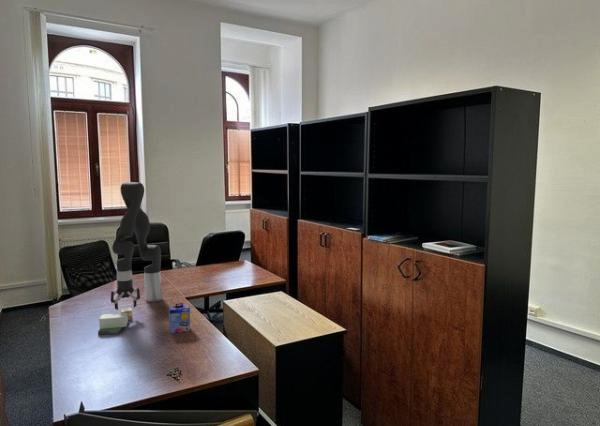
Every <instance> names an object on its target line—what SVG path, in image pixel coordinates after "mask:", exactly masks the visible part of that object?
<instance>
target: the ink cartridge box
mask: <svg viewBox="0 0 600 426" xmlns="http://www.w3.org/2000/svg"><path fill="white" fill-rule="evenodd" d="M190 314H191V308H190V306H189V304H184V303H183V302H180V303H175V305H172V306H168V324H169V325H168V328H169V333H171V334H176V333H175V332H178V333H184V332H183V331H185V332H190V331H191V318H190V317H191V316H190ZM189 330H190V331H189Z"/></svg>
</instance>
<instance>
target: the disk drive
mask: <svg viewBox="0 0 600 426" xmlns="http://www.w3.org/2000/svg"><path fill="white" fill-rule="evenodd" d="M129 324H130V320H128V323H127V325H126V327H116V328H105V329H100V328H99V330H97V335H98V336H121V334H122V333H123V332H124V330H125V329H126V328H127V326H128V325H129Z"/></svg>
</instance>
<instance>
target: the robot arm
mask: <svg viewBox="0 0 600 426" xmlns="http://www.w3.org/2000/svg"><path fill="white" fill-rule="evenodd" d="M120 193H121V194H120V195H121V197H122V201H123V202H124V204H125V207H126V209H127V211H126V212H125V213H124V215H123V216H122V218H121V220H120V225H119V229H118V233H117V235H116V237H115V239H114V241H113V243H112V247H111V248H112V249H111V250H112V252H113V254H115V255H124V258H119V259H117V260H116V290H112V289H111V290H110V303H112V304H114V309H115V310H116V311H119V303H118V302H119V301H120V300H121V299H124V298H131V299H133V300H132V302H133V304H132V305H133V308H136V307H137V306H138V305H137V301H138V300H140V299H141V293H140V288H139V287H138V286H136V287H135V288H134V286H133V285H134V284H133V270H132V261H133V260H132V259H133V256H134V252H135V244H134V242H132V241H130V240H126V239H128V238H131V237H133V235H134V233H135V237H136V241H137V246H138V250H139V256H140V258H141V259H142V261H149V262H150V261H151V262H152V263H151V264H149V265H147V266H145V267H144V268H143V272H144V273H143V277H144V280H143V281H144V299H145V302H149V303H150V302H152V303H153V302H158V301H161V300H163V290H162V289H163V287H162V285H163V283H162V280H161V279H162V278H161V267H162V264H161V263H162V249H161V247H160V245H156V244H148V243H147V237H148V235H149V232H150V230H151V223H150V219H149V216H148V214H147V213H146V212H145V211H144V210H143V209H142V208H141V205H142V202H143V199H144V195H145V187H144V184H143V183H141V182H139V181H138V182H134V181H131V182H128V181H127V182H123V183H121V185H120ZM134 292H135V293H136V296H135V295H134V294H133V293H134ZM116 294H117V296H116V298H115V297H114V296H115V295H116Z"/></svg>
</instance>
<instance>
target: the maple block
mask: <svg viewBox="0 0 600 426" xmlns="http://www.w3.org/2000/svg"><path fill="white" fill-rule="evenodd" d="M120 313H127V316H128V320H129V321H131V319H132V320H133V309H132V308H131V307H125V308H121V309H120Z"/></svg>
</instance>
